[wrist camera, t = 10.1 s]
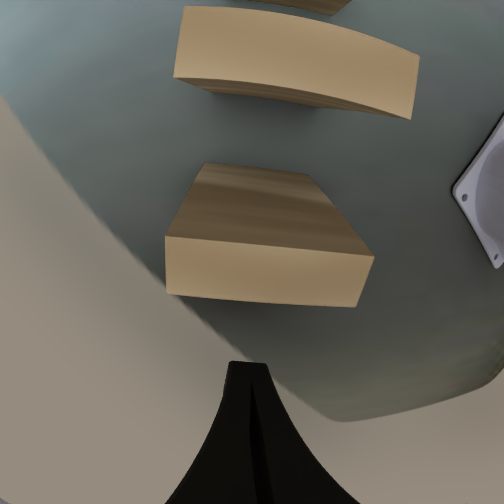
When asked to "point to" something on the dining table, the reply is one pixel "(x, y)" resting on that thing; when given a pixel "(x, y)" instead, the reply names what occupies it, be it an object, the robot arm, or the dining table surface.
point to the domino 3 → (263, 241)
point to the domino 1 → (313, 4)
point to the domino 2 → (294, 61)
